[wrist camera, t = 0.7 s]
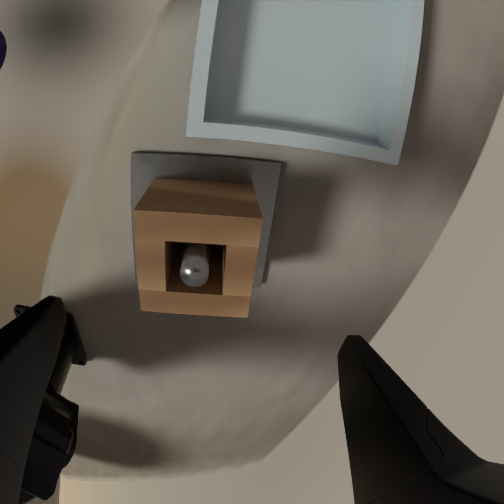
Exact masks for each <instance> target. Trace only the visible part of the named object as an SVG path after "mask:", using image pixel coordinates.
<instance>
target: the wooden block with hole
mask: <svg viewBox="0 0 504 504" xmlns="http://www.w3.org/2000/svg"><path fill="white" fill-rule="evenodd" d="M133 214H134V236H135V253H136V266H137V278H138V289H139V298H140V307H141V311H150V312H162V313H175V314H189V315H205V316H223V317H245V318H248V312H249V306H250V299H251V293H252V287H253V280H254V274H255V267H256V261H257V254H258V248H259V241H260V235H261V228H262V222H263V217H262V214H261V210H260V207H259V203H258V199H257V196H256V192H255V189H254V185H249V184H237V183H225V182H212V181H197V180H181V179H161V178H154V179H153V181H152V182H151V184H150V185H149V187H148V188H147V190H146V191H145V193H144V194H143V196H142V197H141V199H140V201H139V202H138V204H137V205H136V207H135V208H134V210H133ZM177 242H189V243H204V244H219V245H222V248H211V247H210V258H209V276H208V280H207V281H206V283H205V284H203V285H201V286H198V287H192V286H188V285H186V284H185V283H184V282H183V281H182V280H181V278H180V270H181V264H182V259H183V254H184V249H185V246H180V245H177Z"/></svg>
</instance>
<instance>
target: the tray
mask: <svg viewBox="0 0 504 504" xmlns="http://www.w3.org/2000/svg"><path fill="white" fill-rule="evenodd" d="M423 13H424V0H202V4H201V11H200V17H199V24H198V31H197V38H196V45H195V53H194V61H193V70H192V78H191V88H190V98H189V108H188V119H187V132H186V137H202V138H217V139H229V140H240V141H250V142H259V143H268V144H276V145H284V146H291V147H299V148H305V149H312V150H318V151H325V152H331V153H336V154H342V155H347V156H353V157H358V158H363V159H368V160H373V161H378V162H383V163H387V164H392V165H396V166H398V163H399V159H400V155H401V151H402V146H403V142H404V137H405V133H406V128H407V123H408V118H409V113H410V108H411V103H412V97H413V92H414V86H415V80H416V73H417V66H418V59H419V52H420V43H421V35H422V25H423Z"/></svg>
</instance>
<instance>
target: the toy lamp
mask: <svg viewBox="0 0 504 504" xmlns="http://www.w3.org/2000/svg"><path fill="white" fill-rule="evenodd" d="M6 49H7V46H6V41H5V37H4V35H3V34H2V32H1V31H0V69H1V67H2V65H3V62H4V59H5V56H6Z"/></svg>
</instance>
